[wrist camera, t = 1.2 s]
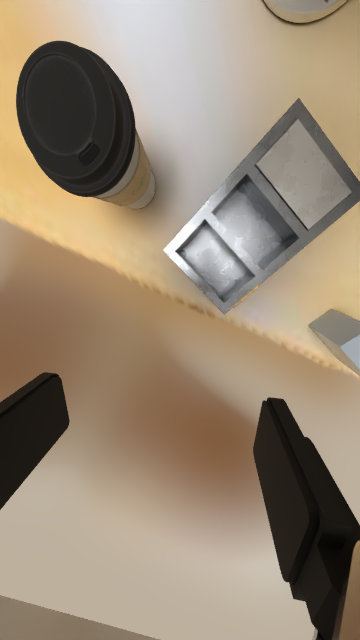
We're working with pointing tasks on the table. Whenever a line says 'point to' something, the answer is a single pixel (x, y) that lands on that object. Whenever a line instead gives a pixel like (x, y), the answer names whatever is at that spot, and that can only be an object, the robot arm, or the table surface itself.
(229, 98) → the table surface
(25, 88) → the coffee cup
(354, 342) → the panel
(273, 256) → the rack
